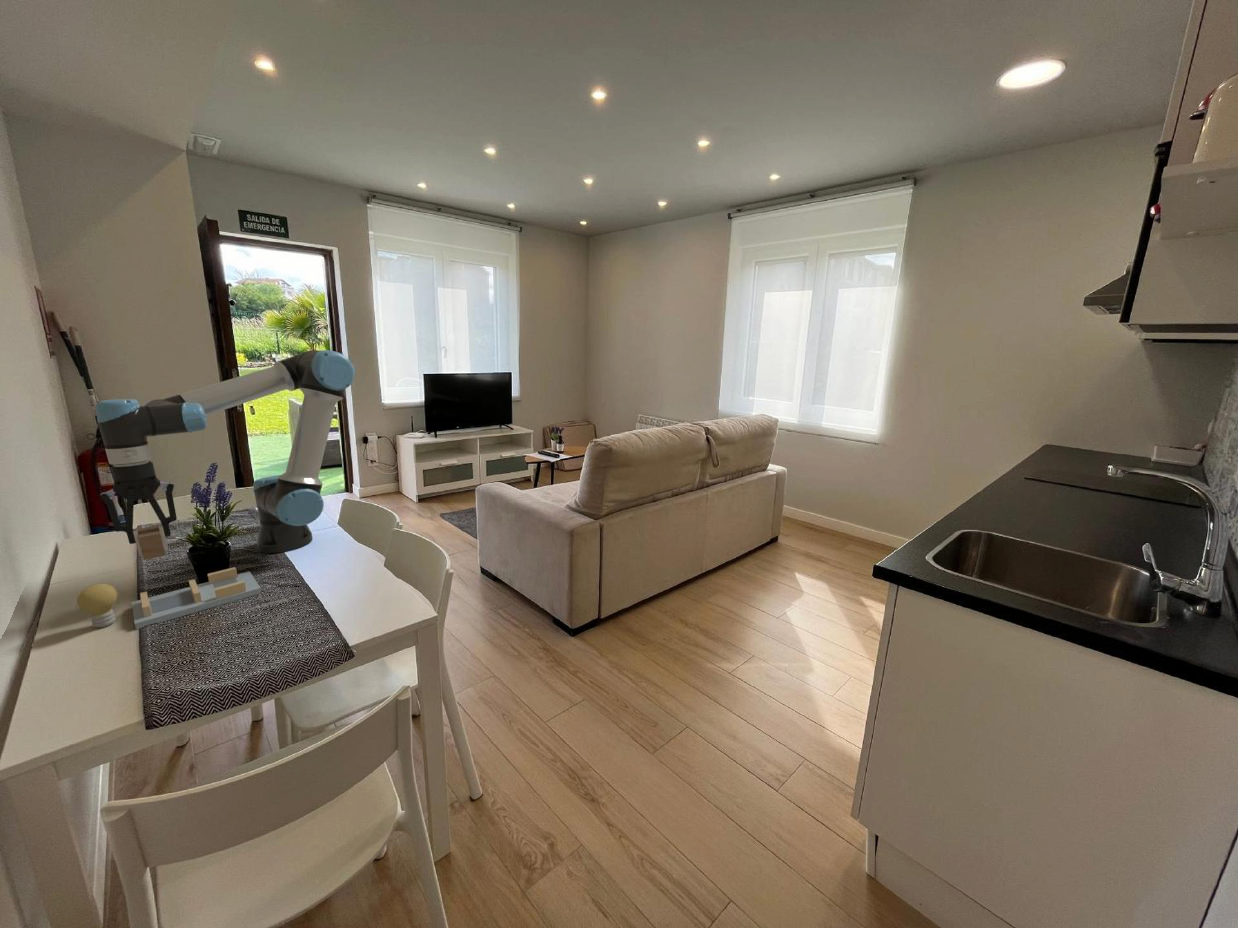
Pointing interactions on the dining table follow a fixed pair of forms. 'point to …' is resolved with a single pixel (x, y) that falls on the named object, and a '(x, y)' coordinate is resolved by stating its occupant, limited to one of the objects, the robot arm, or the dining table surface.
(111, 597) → the light bulb
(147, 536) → the tan wooden stepped block
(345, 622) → the dining table surface
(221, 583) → the jig
